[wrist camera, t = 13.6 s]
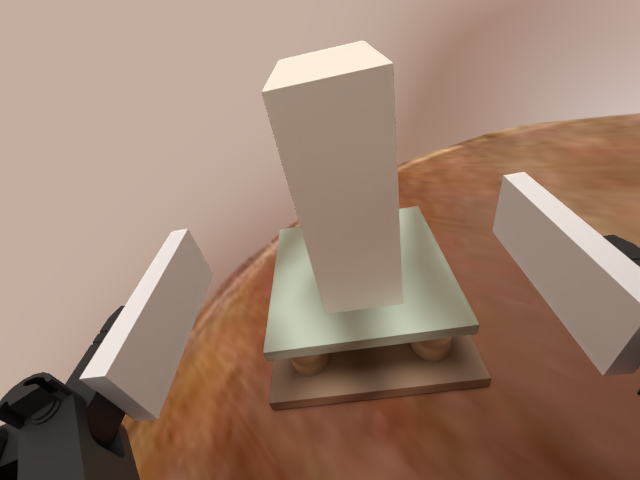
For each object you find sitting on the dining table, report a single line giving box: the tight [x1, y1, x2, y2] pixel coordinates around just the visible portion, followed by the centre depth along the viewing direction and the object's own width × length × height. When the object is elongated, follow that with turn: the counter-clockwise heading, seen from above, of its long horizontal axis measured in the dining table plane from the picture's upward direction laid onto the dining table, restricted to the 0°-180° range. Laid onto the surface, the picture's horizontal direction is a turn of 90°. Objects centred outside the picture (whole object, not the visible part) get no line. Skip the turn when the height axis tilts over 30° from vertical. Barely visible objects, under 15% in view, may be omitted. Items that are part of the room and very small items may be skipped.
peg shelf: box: [263, 206, 491, 410], centre depth 27 cm, size 16×16×6 cm
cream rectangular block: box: [262, 41, 403, 314], centre depth 21 cm, size 6×9×15 cm, turn 1°
